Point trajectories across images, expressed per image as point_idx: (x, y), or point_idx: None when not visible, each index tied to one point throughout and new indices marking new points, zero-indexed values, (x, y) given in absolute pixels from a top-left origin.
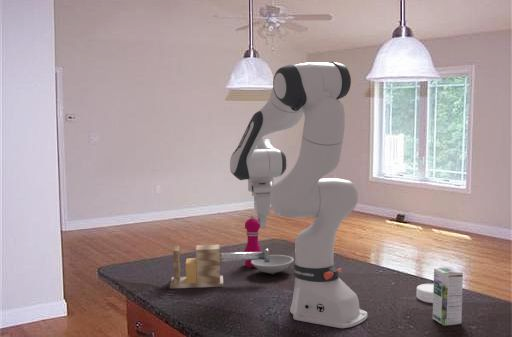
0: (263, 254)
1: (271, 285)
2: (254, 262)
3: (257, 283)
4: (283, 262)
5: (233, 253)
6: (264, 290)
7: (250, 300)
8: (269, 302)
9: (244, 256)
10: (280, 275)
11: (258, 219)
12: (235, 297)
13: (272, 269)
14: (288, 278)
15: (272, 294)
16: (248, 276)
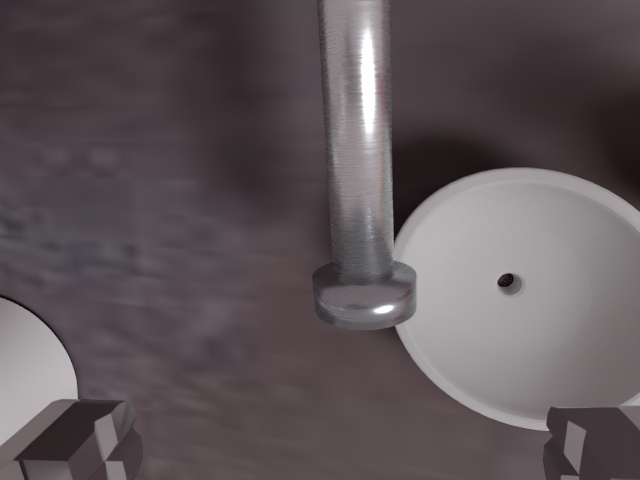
0: (336, 273)
1: (290, 255)
2: (544, 190)
3: (326, 191)
4: (587, 363)
5: (333, 10)
6: (216, 219)
7: (79, 153)
8: (67, 230)
9: (325, 120)
10: None
11: (598, 472)
12: (110, 81)
13: None
14: (399, 341)
15: (163, 249)
16: (465, 144)
